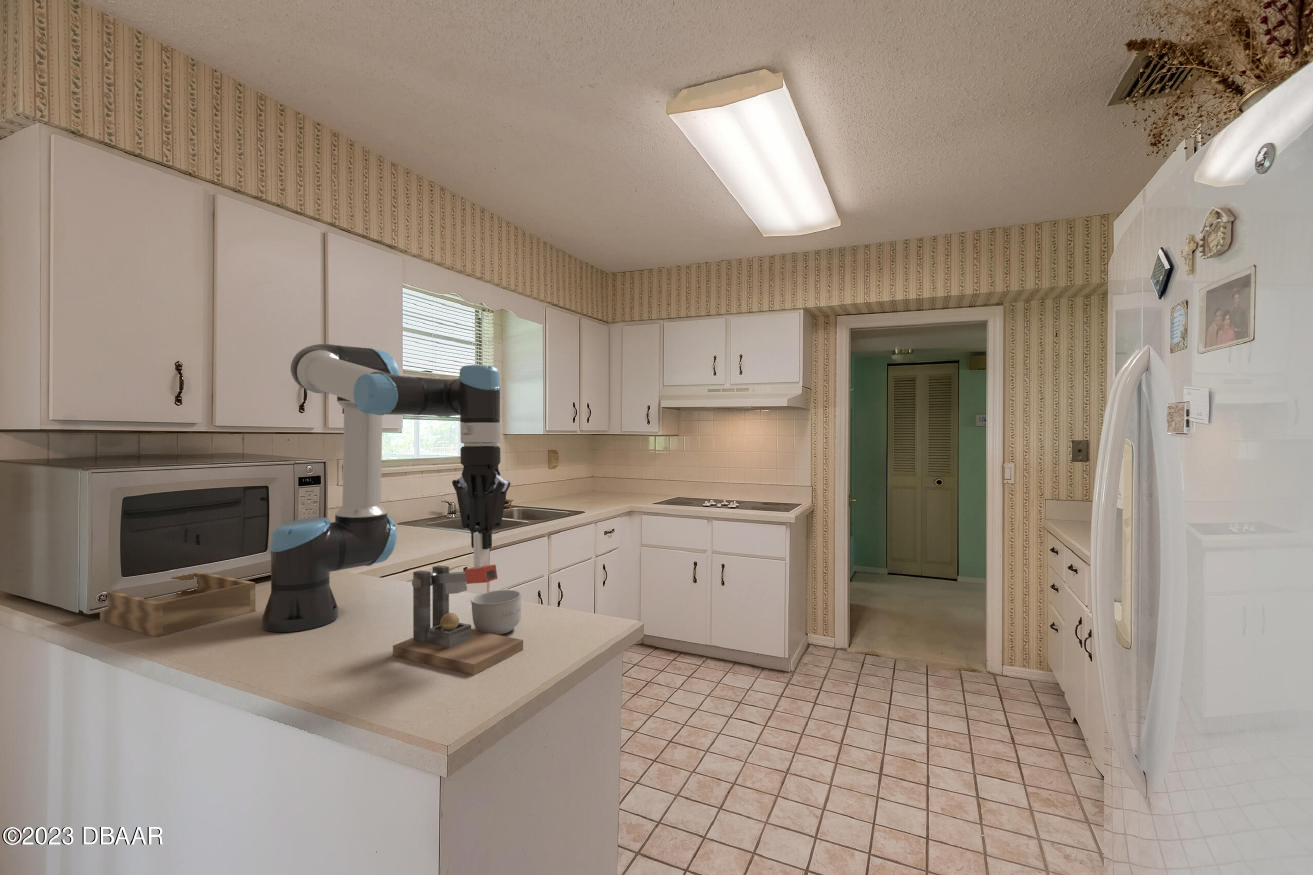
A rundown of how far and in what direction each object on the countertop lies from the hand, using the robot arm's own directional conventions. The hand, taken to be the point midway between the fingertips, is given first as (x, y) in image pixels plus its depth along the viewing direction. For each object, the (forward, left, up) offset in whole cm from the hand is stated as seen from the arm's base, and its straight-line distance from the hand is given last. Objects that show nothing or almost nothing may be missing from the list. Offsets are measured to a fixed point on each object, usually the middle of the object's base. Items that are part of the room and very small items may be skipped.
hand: (481, 565), depth 116 cm
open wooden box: (-82, -12, -18) cm, 85 cm away
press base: (-6, 0, -18) cm, 19 cm away
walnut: (-8, 0, -13) cm, 15 cm away
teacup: (-8, +15, -19) cm, 25 cm away
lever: (-6, 0, -6) cm, 8 cm away
